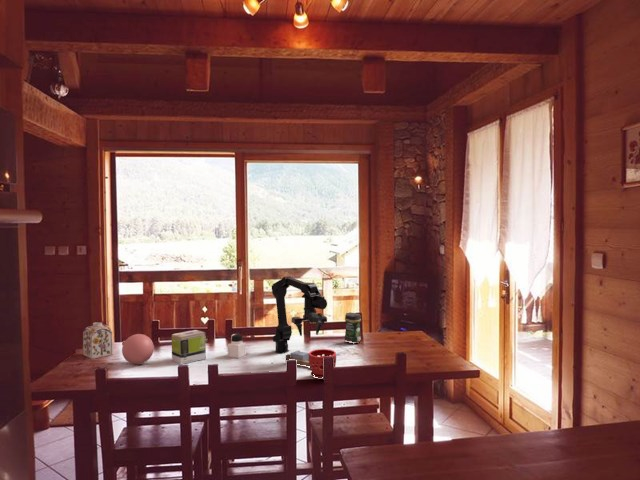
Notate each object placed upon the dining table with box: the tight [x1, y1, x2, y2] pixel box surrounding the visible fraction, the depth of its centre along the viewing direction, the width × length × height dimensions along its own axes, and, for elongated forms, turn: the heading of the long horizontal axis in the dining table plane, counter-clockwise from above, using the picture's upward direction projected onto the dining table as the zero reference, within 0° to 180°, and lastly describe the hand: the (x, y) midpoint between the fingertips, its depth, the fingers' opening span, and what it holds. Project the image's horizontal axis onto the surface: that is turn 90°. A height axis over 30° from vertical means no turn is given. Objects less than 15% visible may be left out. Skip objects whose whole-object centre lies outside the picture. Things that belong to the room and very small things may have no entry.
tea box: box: [171, 329, 207, 365], centre depth 257 cm, size 15×10×15 cm, turn 134°
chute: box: [285, 353, 325, 366], centre depth 251 cm, size 18×11×4 cm, turn 58°
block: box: [289, 350, 309, 361], centre depth 254 cm, size 8×6×5 cm
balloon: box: [121, 333, 155, 365], centre depth 251 cm, size 15×20×15 cm
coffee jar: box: [344, 312, 362, 342], centre depth 296 cm, size 10×8×19 cm
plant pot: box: [308, 348, 337, 378], centre depth 229 cm, size 13×13×12 cm
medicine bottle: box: [227, 333, 247, 359], centre depth 265 cm, size 7×7×12 cm
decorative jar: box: [82, 322, 114, 360], centre depth 265 cm, size 12×12×18 cm
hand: (309, 335), depth 259 cm, fingers open, 9 cm apart
